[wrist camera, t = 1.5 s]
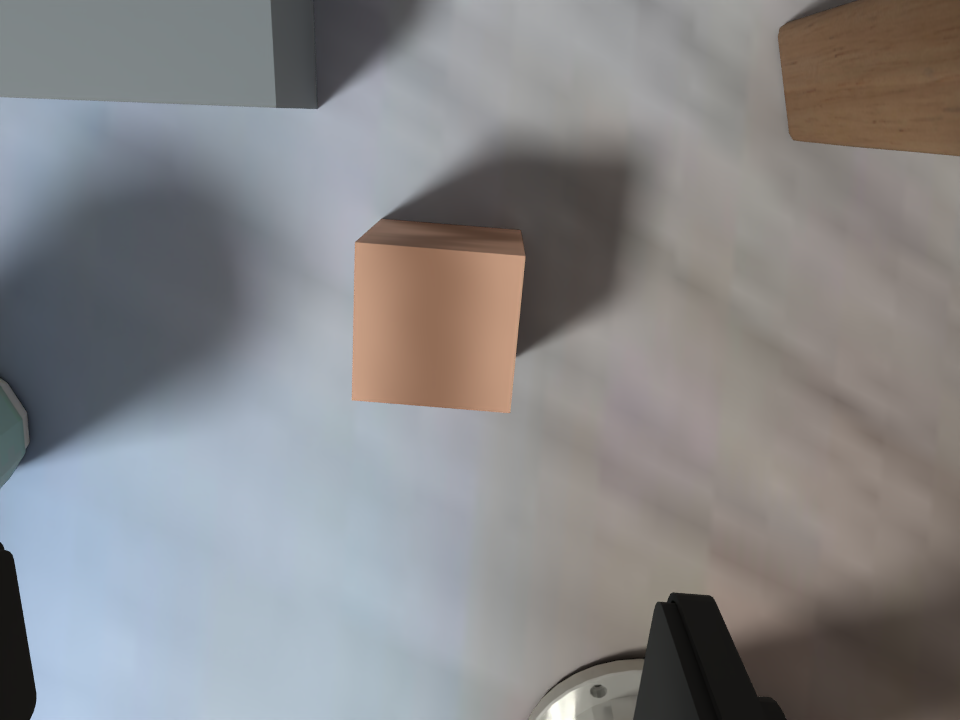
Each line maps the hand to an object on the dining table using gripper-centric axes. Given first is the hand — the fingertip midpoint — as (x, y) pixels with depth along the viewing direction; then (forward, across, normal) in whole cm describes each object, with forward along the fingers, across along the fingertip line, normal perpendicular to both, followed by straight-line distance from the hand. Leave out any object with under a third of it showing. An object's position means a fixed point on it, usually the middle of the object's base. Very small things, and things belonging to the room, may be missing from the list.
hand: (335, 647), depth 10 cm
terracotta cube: (+22, 0, 0) cm, 23 cm away
